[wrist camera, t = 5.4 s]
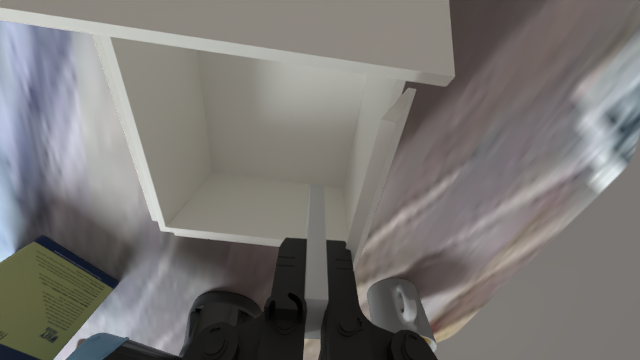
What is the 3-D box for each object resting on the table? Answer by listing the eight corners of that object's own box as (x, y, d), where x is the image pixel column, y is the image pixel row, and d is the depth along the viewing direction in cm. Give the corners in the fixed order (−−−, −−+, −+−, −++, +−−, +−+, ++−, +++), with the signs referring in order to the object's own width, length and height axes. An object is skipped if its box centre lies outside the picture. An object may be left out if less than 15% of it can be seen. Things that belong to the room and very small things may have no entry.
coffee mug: (404, 309, 50) (420, 365, 42) (360, 303, 49) (368, 358, 41) (433, 271, 43) (460, 328, 35) (383, 262, 42) (397, 319, 34)
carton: (344, 191, 34) (352, 256, 24) (208, 174, 33) (155, 235, 23) (391, -16, 22) (450, -66, 11) (176, -53, 21) (29, -144, 10)
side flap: (366, 239, 21) (330, 336, 14) (361, 237, 21) (322, 331, 14) (416, 89, 14) (397, 123, 7) (408, 87, 14) (380, 119, 7)
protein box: (41, 233, 40) (-99, 329, 27) (121, 282, 47) (40, 377, 34) (12, 253, 43) (-128, 349, 30) (91, 296, 50) (6, 390, 37)
